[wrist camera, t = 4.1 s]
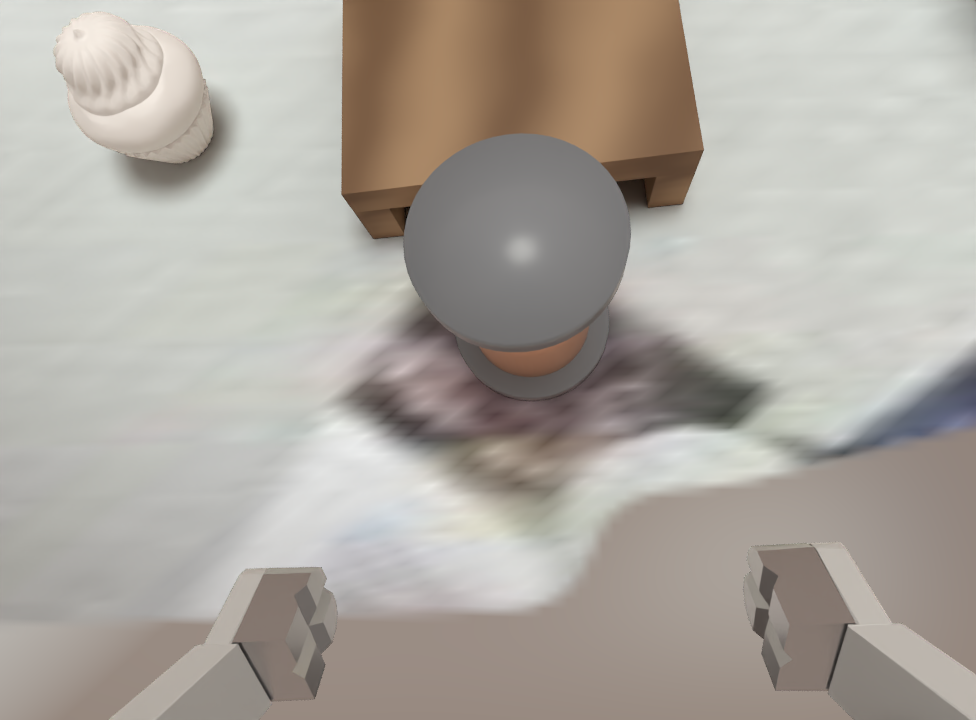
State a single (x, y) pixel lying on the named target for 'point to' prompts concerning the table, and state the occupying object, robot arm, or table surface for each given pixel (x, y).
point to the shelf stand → (512, 91)
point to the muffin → (134, 88)
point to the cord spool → (521, 259)
